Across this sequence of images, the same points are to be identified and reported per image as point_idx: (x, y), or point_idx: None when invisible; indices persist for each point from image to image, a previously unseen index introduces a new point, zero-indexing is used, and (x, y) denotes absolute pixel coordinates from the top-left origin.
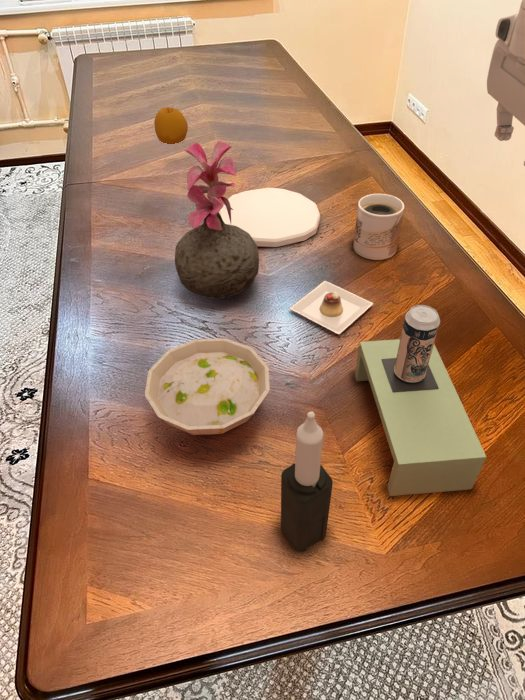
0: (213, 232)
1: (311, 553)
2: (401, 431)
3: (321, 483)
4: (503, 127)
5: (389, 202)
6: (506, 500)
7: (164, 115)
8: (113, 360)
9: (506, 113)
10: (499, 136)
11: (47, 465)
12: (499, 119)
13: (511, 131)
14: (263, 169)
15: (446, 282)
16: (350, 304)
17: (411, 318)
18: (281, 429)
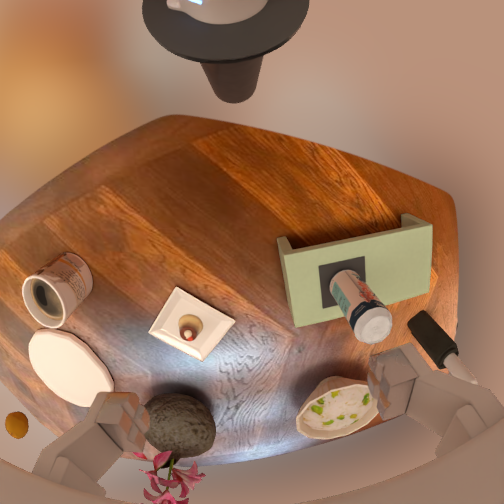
0: (181, 453)
1: (430, 315)
2: (405, 290)
3: (456, 351)
4: (129, 446)
5: (28, 286)
6: (415, 188)
7: (17, 436)
8: (276, 437)
9: (81, 463)
10: (148, 429)
11: (354, 433)
12: (109, 465)
13: (124, 416)
14: (9, 363)
15: (113, 195)
16: (177, 306)
17: (379, 340)
18: (346, 348)
